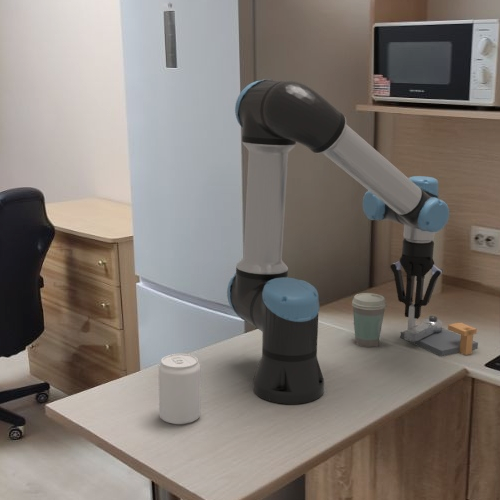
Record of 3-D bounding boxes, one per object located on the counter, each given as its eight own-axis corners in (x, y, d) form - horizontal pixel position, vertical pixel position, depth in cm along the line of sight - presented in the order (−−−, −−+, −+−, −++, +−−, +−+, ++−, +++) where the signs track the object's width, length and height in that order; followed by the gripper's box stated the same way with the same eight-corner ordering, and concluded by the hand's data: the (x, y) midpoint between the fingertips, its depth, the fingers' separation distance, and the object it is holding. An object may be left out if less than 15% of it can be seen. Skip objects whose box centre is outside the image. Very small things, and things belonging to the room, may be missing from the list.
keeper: (462, 355, 186) (464, 331, 184) (446, 348, 190) (448, 324, 189) (474, 353, 187) (476, 328, 186) (458, 345, 192) (460, 322, 191)
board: (441, 356, 185) (441, 350, 184) (400, 337, 197) (400, 332, 197) (477, 348, 191) (477, 342, 190) (435, 330, 203) (435, 324, 203)
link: (428, 325, 202) (429, 312, 201) (445, 329, 199) (446, 317, 198) (400, 338, 192) (401, 325, 191) (417, 343, 188) (418, 330, 188)
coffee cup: (383, 350, 189) (386, 303, 186) (348, 347, 190) (350, 301, 187) (384, 338, 197) (387, 293, 194) (351, 335, 198) (353, 291, 195)
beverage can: (166, 429, 146) (165, 370, 143) (154, 412, 153) (153, 355, 151) (206, 422, 149) (206, 364, 147) (192, 405, 157) (192, 350, 154)
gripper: (448, 239, 190) (440, 329, 195) (397, 233, 195) (391, 320, 201) (440, 245, 183) (432, 338, 189) (388, 239, 189) (382, 329, 195)
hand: (411, 329), depth 195 cm, fingers closed
